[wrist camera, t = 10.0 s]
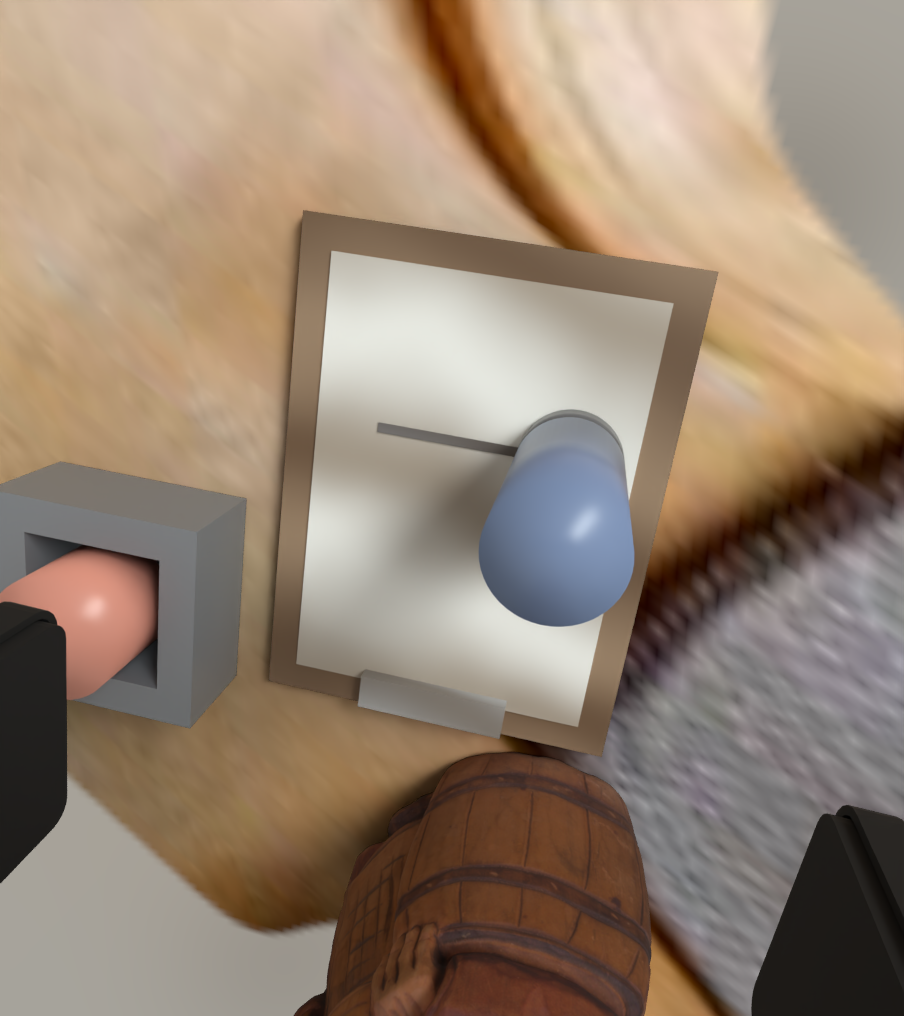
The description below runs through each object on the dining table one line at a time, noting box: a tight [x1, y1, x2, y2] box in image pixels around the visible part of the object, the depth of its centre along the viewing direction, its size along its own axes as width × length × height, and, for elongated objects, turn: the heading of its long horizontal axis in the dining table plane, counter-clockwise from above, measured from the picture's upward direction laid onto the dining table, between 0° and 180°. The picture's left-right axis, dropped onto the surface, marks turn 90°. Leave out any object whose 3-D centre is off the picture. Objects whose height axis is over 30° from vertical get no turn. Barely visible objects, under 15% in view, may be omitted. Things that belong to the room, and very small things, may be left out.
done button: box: [0, 545, 159, 700], centre depth 25 cm, size 4×4×4 cm
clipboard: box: [269, 210, 718, 757], centre depth 25 cm, size 16×12×1 cm
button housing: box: [0, 462, 246, 728], centre depth 27 cm, size 7×7×4 cm
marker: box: [479, 409, 634, 627], centre depth 20 cm, size 3×3×8 cm
